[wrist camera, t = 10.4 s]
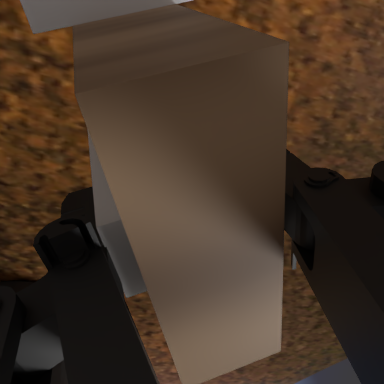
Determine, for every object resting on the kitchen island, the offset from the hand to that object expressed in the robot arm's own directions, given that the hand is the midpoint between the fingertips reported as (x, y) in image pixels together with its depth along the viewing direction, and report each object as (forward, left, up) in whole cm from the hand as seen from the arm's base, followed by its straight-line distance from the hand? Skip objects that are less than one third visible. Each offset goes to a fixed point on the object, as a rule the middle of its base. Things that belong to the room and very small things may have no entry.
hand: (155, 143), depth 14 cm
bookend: (0, +4, 0) cm, 4 cm away
